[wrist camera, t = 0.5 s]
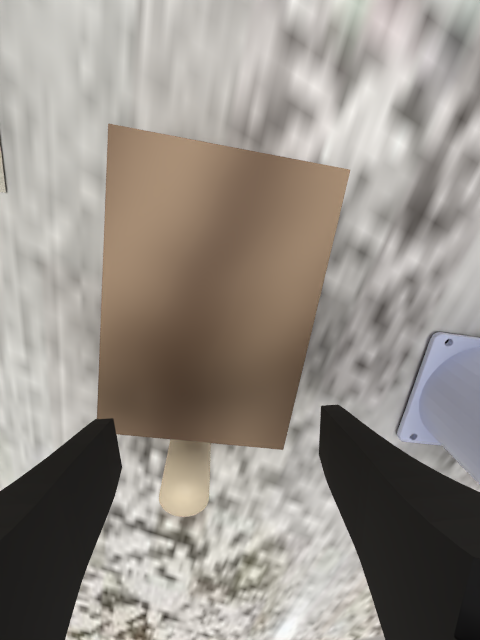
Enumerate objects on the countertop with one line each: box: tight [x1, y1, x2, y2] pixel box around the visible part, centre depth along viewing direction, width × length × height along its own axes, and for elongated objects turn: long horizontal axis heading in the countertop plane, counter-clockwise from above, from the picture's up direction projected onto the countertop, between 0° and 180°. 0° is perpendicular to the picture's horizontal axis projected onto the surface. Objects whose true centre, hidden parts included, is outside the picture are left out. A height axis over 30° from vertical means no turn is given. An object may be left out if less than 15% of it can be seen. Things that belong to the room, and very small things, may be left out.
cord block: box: [159, 439, 211, 517], centre depth 18 cm, size 4×16×5 cm, turn 171°
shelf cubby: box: [97, 124, 350, 450], centre depth 16 cm, size 8×12×6 cm
